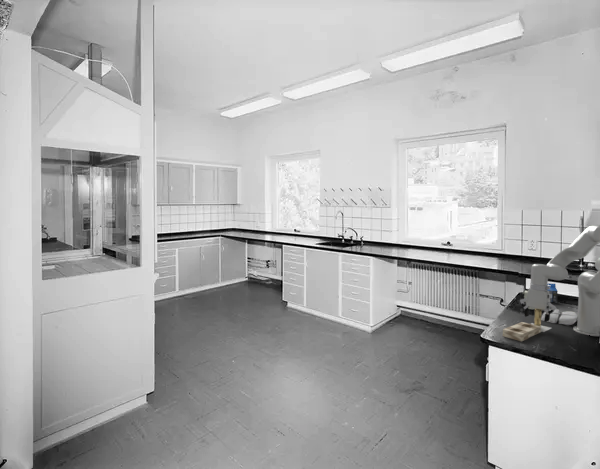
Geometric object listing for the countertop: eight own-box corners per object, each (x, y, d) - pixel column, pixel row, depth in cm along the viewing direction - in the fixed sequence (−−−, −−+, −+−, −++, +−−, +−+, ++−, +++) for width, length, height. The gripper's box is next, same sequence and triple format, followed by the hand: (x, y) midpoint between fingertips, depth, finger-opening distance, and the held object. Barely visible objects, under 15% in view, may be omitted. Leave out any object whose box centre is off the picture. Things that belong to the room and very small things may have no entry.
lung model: (538, 321, 203) (544, 315, 222) (576, 328, 192) (580, 321, 211) (539, 309, 203) (545, 304, 222) (577, 316, 192) (580, 310, 211)
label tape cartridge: (541, 302, 243) (542, 284, 242) (539, 300, 247) (540, 283, 246) (557, 303, 240) (557, 284, 239) (554, 301, 244) (555, 283, 243)
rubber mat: (552, 328, 191) (552, 328, 191) (543, 332, 185) (543, 331, 185) (531, 323, 199) (531, 323, 199) (522, 327, 194) (522, 326, 194)
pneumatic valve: (542, 311, 222) (542, 292, 221) (520, 308, 229) (520, 289, 228) (542, 309, 227) (542, 290, 226) (520, 306, 233) (521, 288, 232)
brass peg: (541, 327, 192) (542, 309, 191) (539, 328, 190) (539, 310, 189) (535, 326, 194) (536, 307, 194) (533, 327, 193) (533, 308, 192)
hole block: (540, 333, 185) (540, 326, 184) (521, 341, 174) (521, 334, 173) (522, 328, 192) (522, 321, 192) (502, 336, 181) (502, 329, 181)
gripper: (560, 289, 185) (557, 322, 187) (524, 283, 200) (522, 313, 201) (554, 291, 181) (551, 324, 183) (517, 284, 196) (515, 315, 197)
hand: (536, 318), depth 192 cm, fingers open, 9 cm apart
